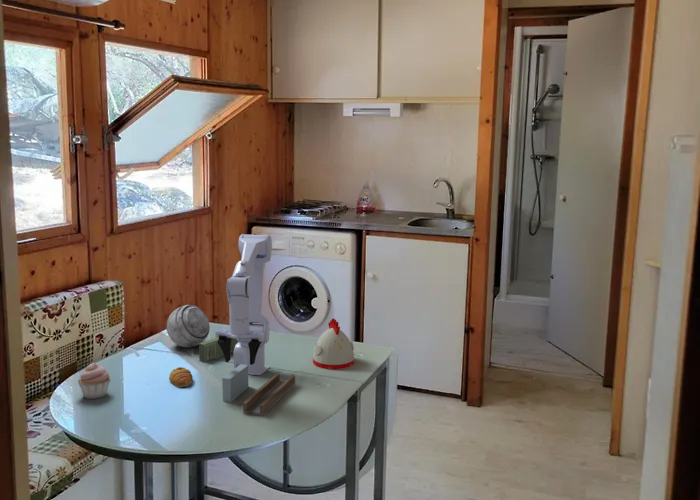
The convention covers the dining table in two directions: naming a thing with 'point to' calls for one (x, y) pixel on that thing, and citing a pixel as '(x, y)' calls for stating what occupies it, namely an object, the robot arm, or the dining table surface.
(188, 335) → the decorative orb
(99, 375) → the cupcake
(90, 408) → the dining table surface
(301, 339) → the dining table surface
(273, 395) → the floor track
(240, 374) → the door panel
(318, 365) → the kitchen timer
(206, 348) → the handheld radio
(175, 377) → the pastry
